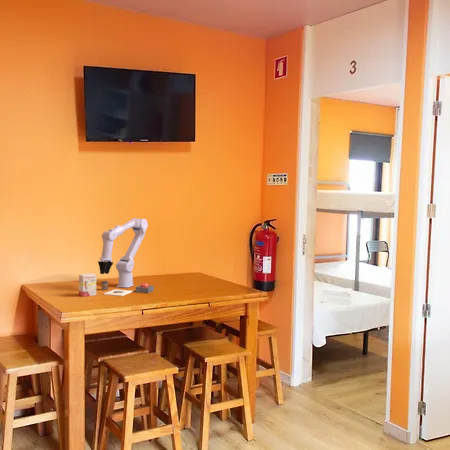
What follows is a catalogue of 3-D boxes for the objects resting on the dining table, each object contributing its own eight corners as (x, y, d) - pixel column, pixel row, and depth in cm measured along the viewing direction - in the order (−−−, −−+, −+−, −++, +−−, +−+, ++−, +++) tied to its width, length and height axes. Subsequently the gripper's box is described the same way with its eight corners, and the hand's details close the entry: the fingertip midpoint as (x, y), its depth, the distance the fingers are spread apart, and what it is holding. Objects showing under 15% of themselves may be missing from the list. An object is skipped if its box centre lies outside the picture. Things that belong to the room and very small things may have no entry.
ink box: (82, 296, 301) (82, 275, 300) (78, 295, 305) (78, 274, 304) (96, 295, 307) (96, 274, 306) (92, 293, 311) (92, 273, 310)
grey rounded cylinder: (103, 289, 325) (103, 280, 325) (108, 289, 324) (108, 281, 324) (100, 290, 322) (100, 281, 321) (106, 290, 321) (106, 282, 320)
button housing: (141, 289, 325) (141, 284, 325) (153, 290, 323) (153, 285, 323) (135, 292, 318) (135, 287, 317) (148, 293, 315) (148, 288, 315)
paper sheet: (114, 290, 322) (114, 289, 322) (133, 291, 319) (133, 290, 319) (103, 294, 309) (103, 293, 309) (122, 296, 306) (122, 295, 306)
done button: (142, 287, 323) (142, 283, 323) (149, 287, 322) (149, 283, 322) (139, 288, 319) (139, 284, 318) (146, 289, 317) (146, 284, 317)
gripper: (104, 250, 330) (102, 272, 329) (96, 250, 315) (93, 273, 315) (116, 251, 329) (113, 274, 328) (107, 251, 314) (105, 274, 314)
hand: (104, 273), depth 321 cm, fingers open, 7 cm apart
